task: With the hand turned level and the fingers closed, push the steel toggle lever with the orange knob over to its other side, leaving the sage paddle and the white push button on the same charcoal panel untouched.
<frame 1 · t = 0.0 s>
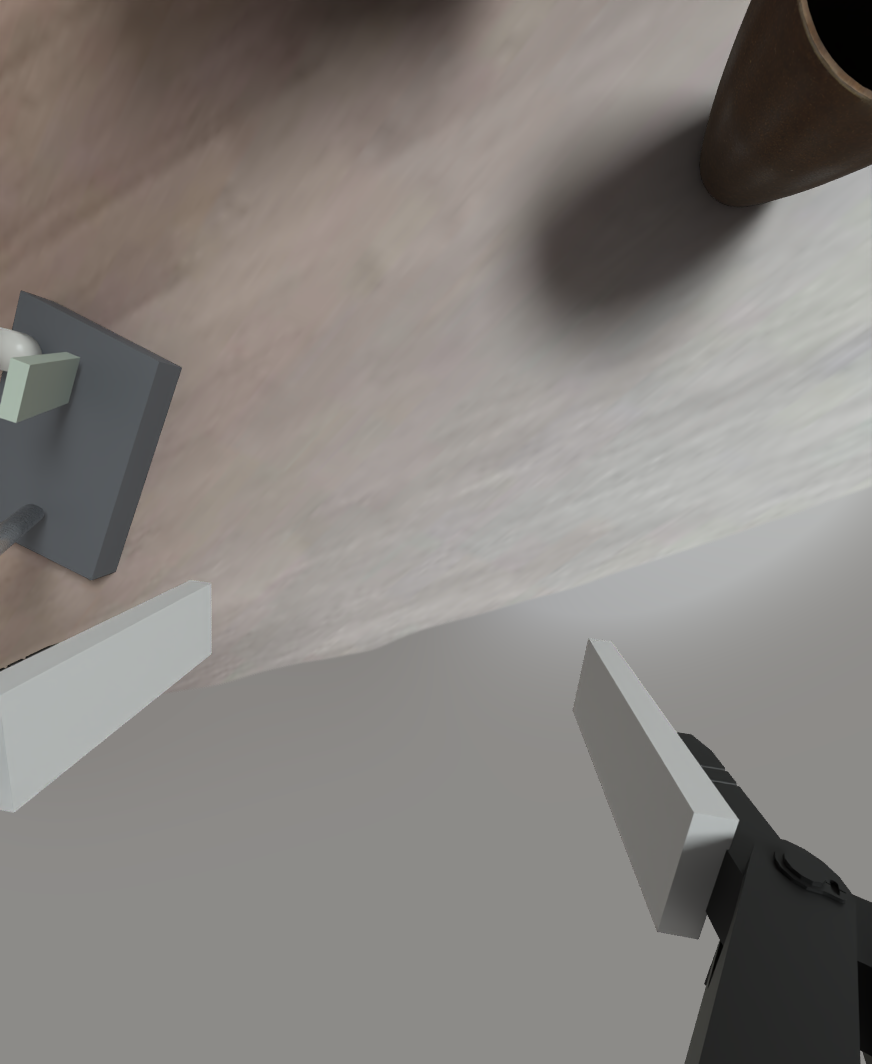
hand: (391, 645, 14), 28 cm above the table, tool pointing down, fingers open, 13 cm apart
plant pot: (743, 159, 33), on the table
white push button: (13, 351, 37), point 5 cm above the table, slide at 0.0 cm
switch panel: (86, 445, 43), on the table
sage paddle: (43, 383, 33), point 9 cm above the table, hinge at -30.0°
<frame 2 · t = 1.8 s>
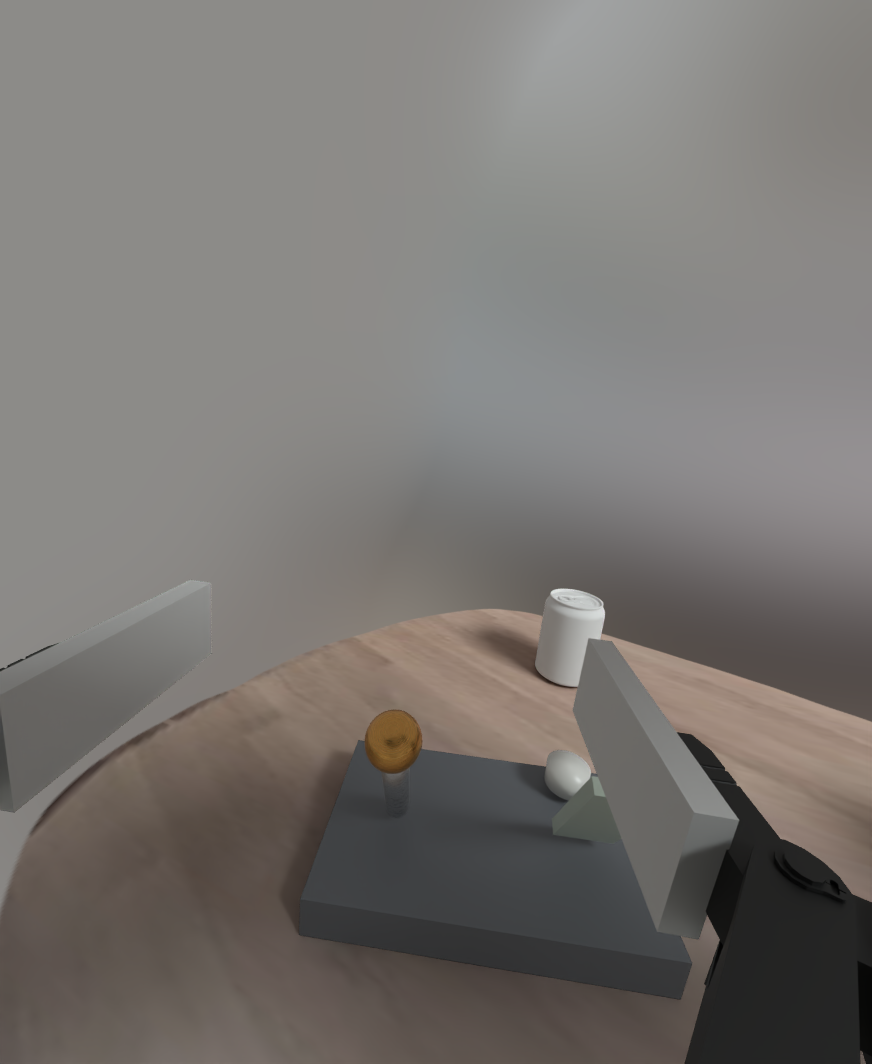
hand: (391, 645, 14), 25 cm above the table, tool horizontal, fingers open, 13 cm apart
steel toggle lever: (395, 773, 27), point 11 cm above the table, hinge at -30.0°
beverage can: (562, 675, 60), on the table
white push button: (567, 774, 35), point 5 cm above the table, slide at 0.0 cm
switch panel: (481, 856, 33), on the table
sage paddle: (603, 813, 27), point 9 cm above the table, hinge at -30.0°
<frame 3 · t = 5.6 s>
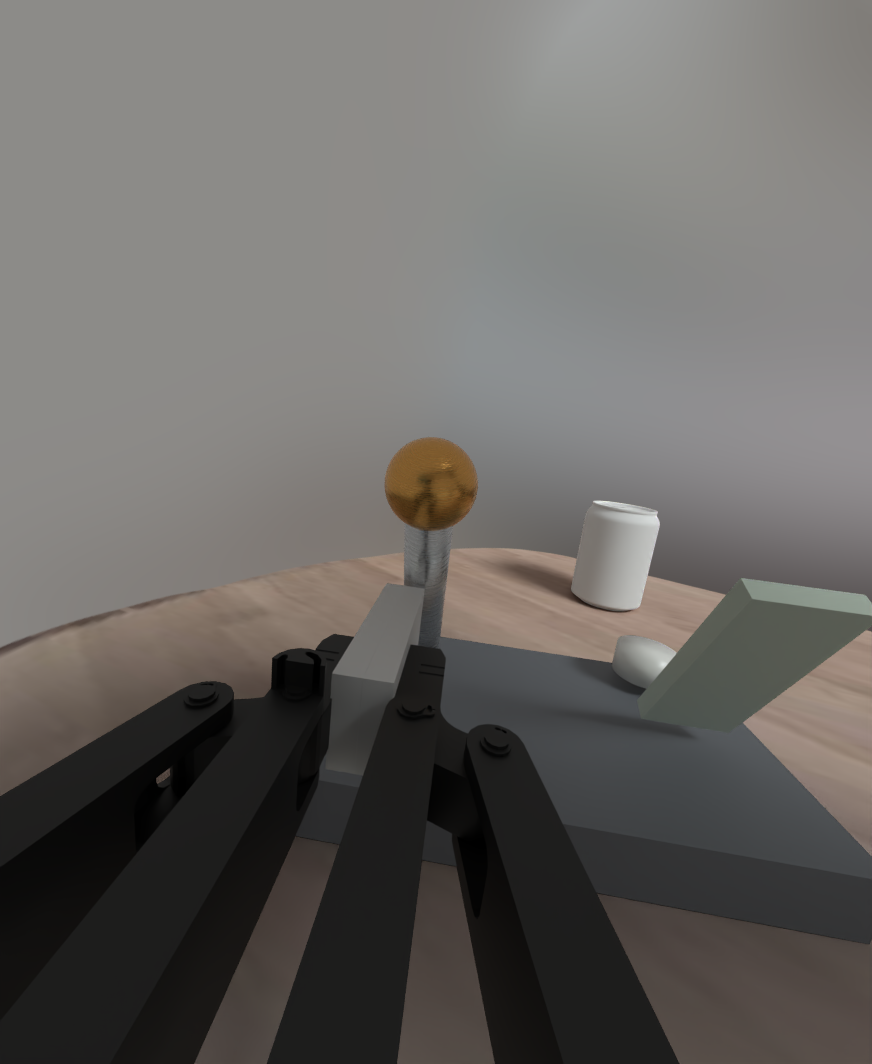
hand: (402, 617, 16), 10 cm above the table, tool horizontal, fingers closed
steel toggle lever: (424, 589, 18), point 11 cm above the table, hinge at -28.8°, touching gripper
beverage can: (603, 602, 51), on the table
white push button: (644, 661, 26), point 5 cm above the table, slide at 0.0 cm
switch panel: (532, 757, 23), on the table
sage paddle: (733, 667, 18), point 9 cm above the table, hinge at -30.0°
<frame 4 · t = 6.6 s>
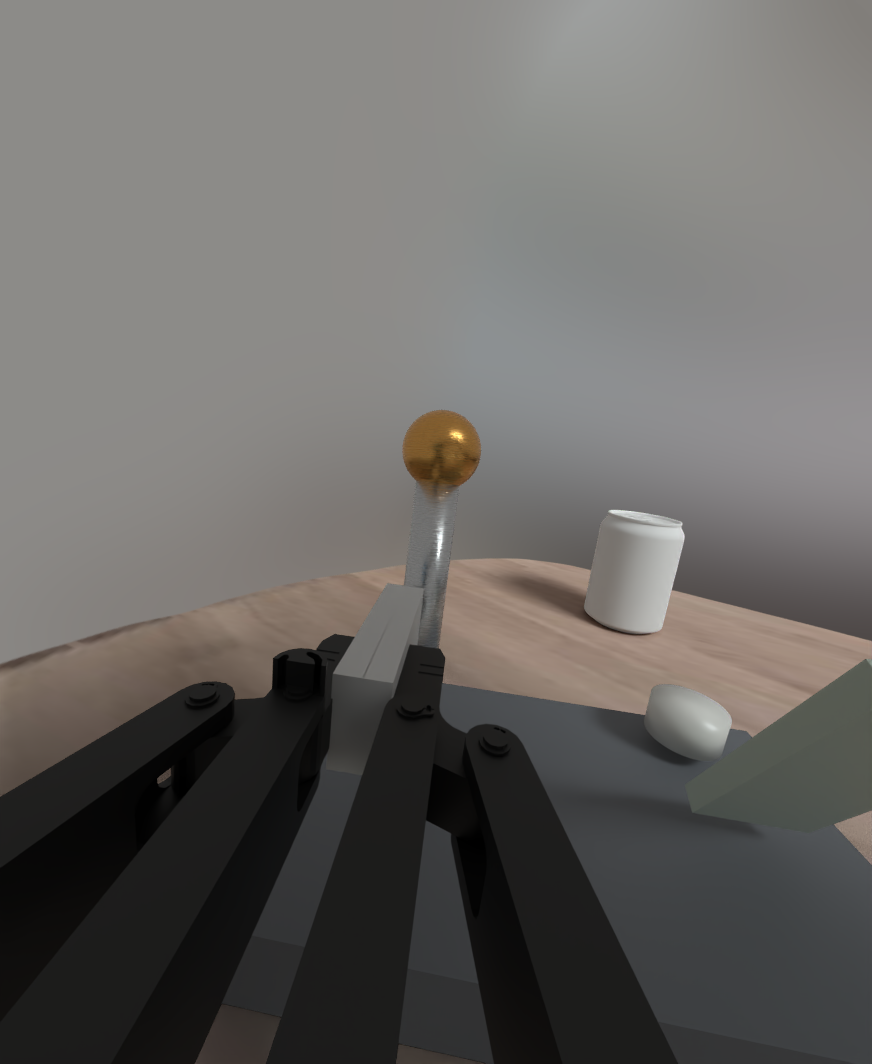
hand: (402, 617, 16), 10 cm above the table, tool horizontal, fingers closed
steel toggle lever: (425, 581, 17), point 12 cm above the table, hinge at 6.4°, touching gripper
beverage can: (620, 622, 46), on the table
white push button: (685, 719, 21), point 5 cm above the table, slide at 0.0 cm
switch panel: (549, 850, 18), on the table
sage paddle: (831, 764, 13), point 9 cm above the table, hinge at -30.0°
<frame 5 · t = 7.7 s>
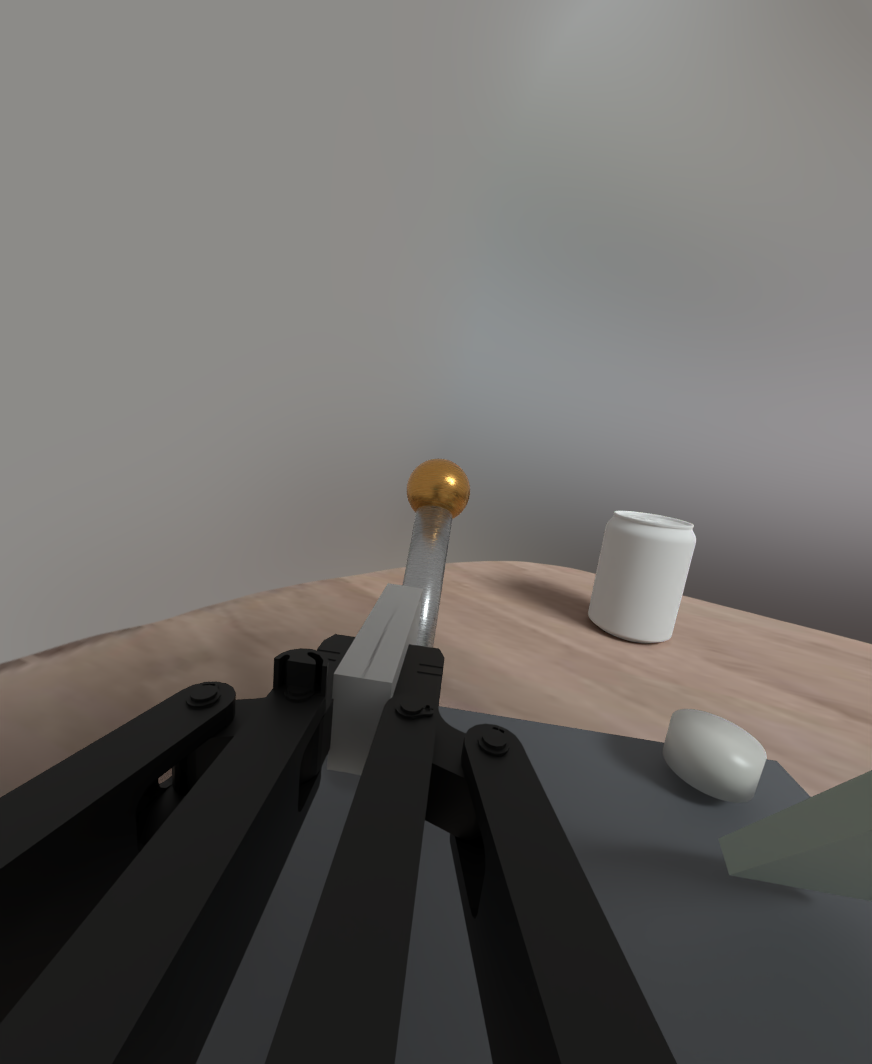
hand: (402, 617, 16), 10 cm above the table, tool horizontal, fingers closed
steel toggle lever: (420, 596, 19), point 10 cm above the table, hinge at 35.4°, touching gripper
beverage can: (626, 630, 43), on the table
white push button: (711, 751, 19), point 5 cm above the table, slide at 0.0 cm
switch panel: (556, 910, 16), on the table
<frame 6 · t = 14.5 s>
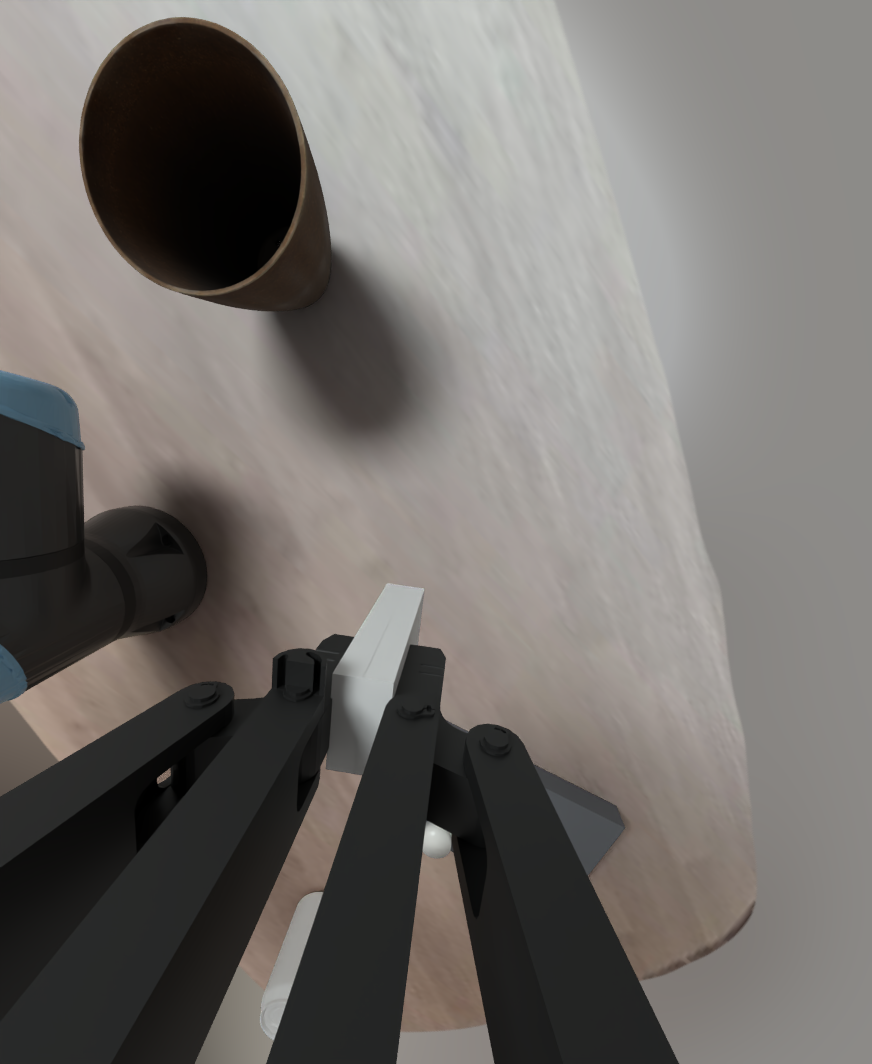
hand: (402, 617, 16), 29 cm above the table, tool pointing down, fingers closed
plant pot: (297, 270, 41), on the table
beverage can: (326, 908, 59), on the table
white push button: (436, 838, 49), point 5 cm above the table, slide at 0.0 cm
switch panel: (503, 803, 52), on the table
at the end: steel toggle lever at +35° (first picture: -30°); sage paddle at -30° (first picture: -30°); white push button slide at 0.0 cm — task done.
